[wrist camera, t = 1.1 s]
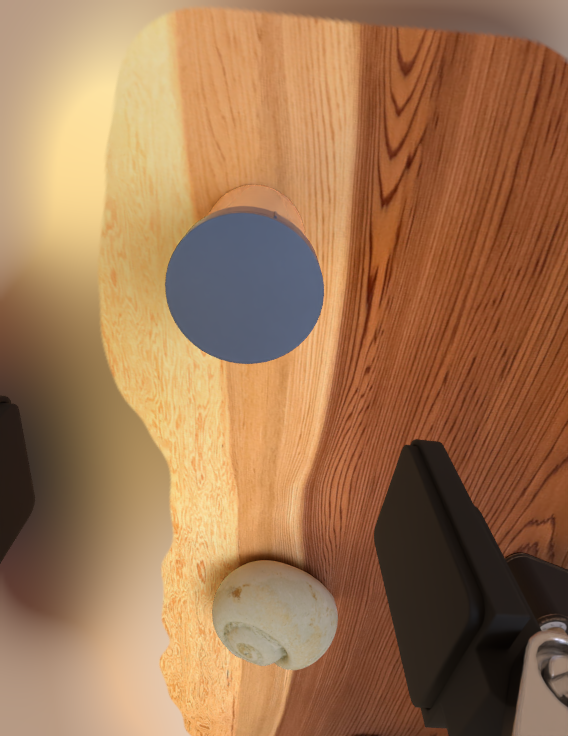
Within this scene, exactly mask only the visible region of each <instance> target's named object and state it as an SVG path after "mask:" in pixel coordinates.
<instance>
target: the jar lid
mask: <svg viewBox="0 0 568 736" xmlns="http://www.w3.org/2000/svg"><path fill="white" fill-rule="evenodd" d="M165 288H166V298H167V303H168V306H169V309H170V312H171V315H172V317H173V319H174V321H175V323H176V324H177V326H178V327H179V329H180V330H181V332H182V333H183V334H184V335H185V336H186V337H187V339H189V340H190V341H191V342H192V343H193V344H194V345H195V346H197V347H198V348H199V349H201V350H202V351H204V352H206V353H207V354H209V355H211V356H214V357H216V358H218V359H221V360H225V361H228V362H234V363H242V364H253V363H262V362H267V361H270V360H274V359H276V358H279V357H281V356H283V355H285V354H287V353H289V352H290V351H292V350H293V349H295V348H296V347H297V346H298V345H300V344H301V343H302V342H303V341H304V340H305V339H306V338H307V336H308V335H309V334H310V332H311V331H312V329H313V328H314V326H315V324H316V323H317V320H318V318H319V315H320V313H321V309H322V305H323V297H324V284H323V277H322V273H321V269H320V266H319V263H318V259H317V256H316V254H315V251H314V249H313V247H312V245H311V244H310V242H309V240H308V239H307V237H306V236H305V235H304V234H303V233H302V231H301V230H300V229H299V228H298V227H296V226H295V225H294V224H293V223H292V222H290V221H289V220H288V219H286V218H285V217H283V216H281V215H279V214H277V211H275V212H272V211H270V210H267V209H263V208H258V207H251V206H236V207H230V208H225V209H222V210H219V211H216V212H213V213H211V214H210V215H208V216H206V217H204V218H203V219H201V220H200V221H199V222H197V223H196V224H195V225H194V226H193V227H192V228H191V229H190V230H189V231H188V233H187V234H186V235H185V236H184V238H183V239H182V240H181V242H180V243H179V244H178V245H177V247H176V249H175V251H174V252H173V254H172V256H171V259H170V262H169V264H168V268H167V273H166V282H165Z"/></svg>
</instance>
